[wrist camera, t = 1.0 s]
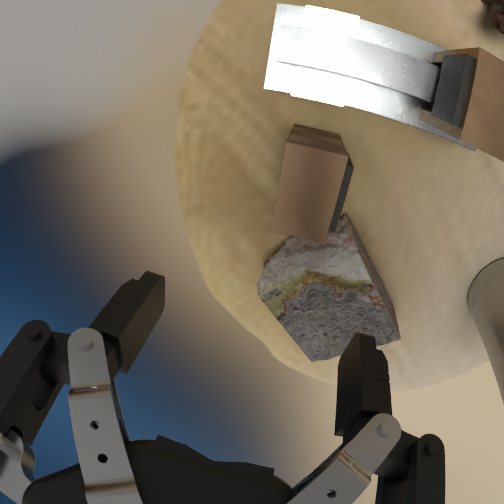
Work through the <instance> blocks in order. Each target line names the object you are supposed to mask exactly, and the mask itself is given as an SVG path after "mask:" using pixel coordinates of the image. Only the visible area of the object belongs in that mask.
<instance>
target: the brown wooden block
mask: <svg viewBox="0 0 504 504" xmlns="http://www.w3.org/2000/svg"><path fill="white" fill-rule="evenodd" d="M353 168H354V167H353V164H352V162H351V159H350V157H349V154H348V153H347V152H346V149H345V147H344V144H343V142H342V139H341V137H340V134H337V133H333V132H329V131H324V130H320V129H316V128H311V127H307V126H302V125H297V124H294V126H293V129H292V131H291V133H290V135H289V137H288V140H287V142H286V147H285V152H284V158H283V163H282V169H281V174H280V180H279V185H278V190H277V196H276V201H275V206H274V212H273V217H272V222H271V227H270V231H274V232H278V233H283V234H287V235H292V236H296V237H301V238H305V239H309V240H314V241H318V242H322V243H325V240H326V236H327V233H328V231H331V232H335V231H336V228H337V225H338V221H339V218H340V215H341V211H342V208H343V204H344V201H345V197H346V194H347V190H348V187H349V183H350V179H351V176H352V172H353Z"/></svg>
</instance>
